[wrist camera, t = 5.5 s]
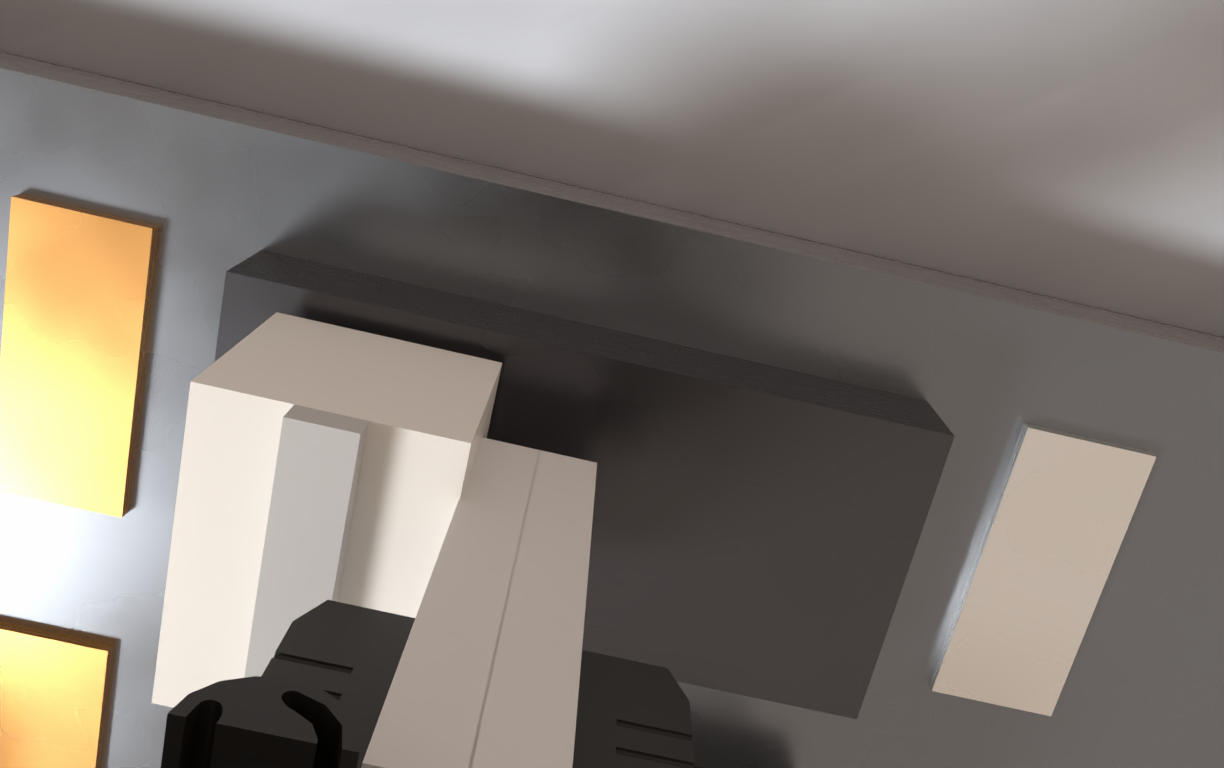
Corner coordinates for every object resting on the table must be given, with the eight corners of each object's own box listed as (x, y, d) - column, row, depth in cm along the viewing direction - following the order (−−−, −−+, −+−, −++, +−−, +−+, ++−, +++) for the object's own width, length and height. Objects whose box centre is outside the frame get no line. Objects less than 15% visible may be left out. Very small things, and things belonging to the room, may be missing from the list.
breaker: (238, 580, 16) (137, 723, 13) (276, 311, 15) (176, 392, 11) (447, 625, 16) (400, 776, 13) (501, 362, 15) (466, 456, 12)
